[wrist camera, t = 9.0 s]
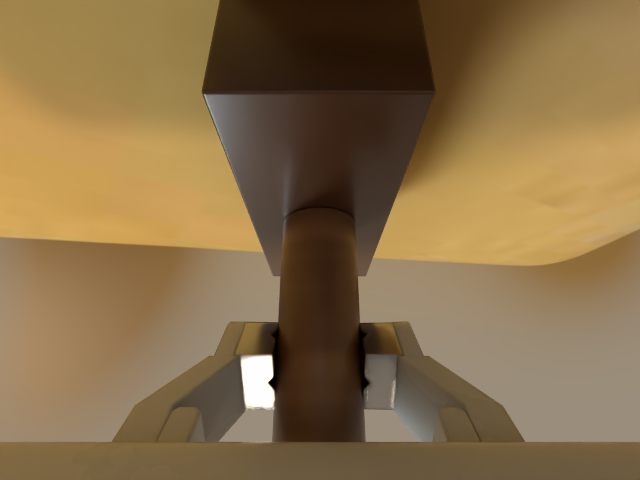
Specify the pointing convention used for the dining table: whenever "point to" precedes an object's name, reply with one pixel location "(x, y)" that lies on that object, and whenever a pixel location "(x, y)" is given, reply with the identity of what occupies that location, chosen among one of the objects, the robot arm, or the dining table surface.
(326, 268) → the mallet
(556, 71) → the dining table surface
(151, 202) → the dining table surface
